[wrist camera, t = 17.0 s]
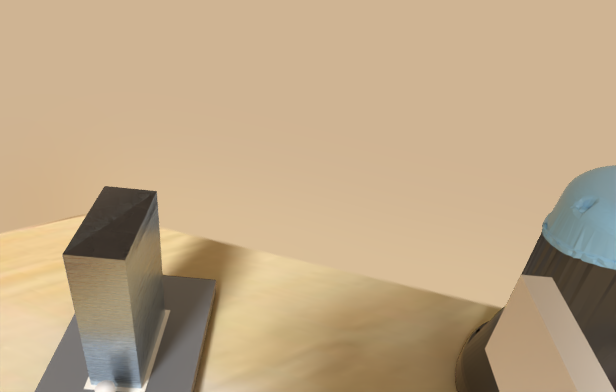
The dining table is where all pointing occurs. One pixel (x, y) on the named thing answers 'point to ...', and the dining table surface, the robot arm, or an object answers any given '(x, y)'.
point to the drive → (118, 285)
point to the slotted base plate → (167, 352)
